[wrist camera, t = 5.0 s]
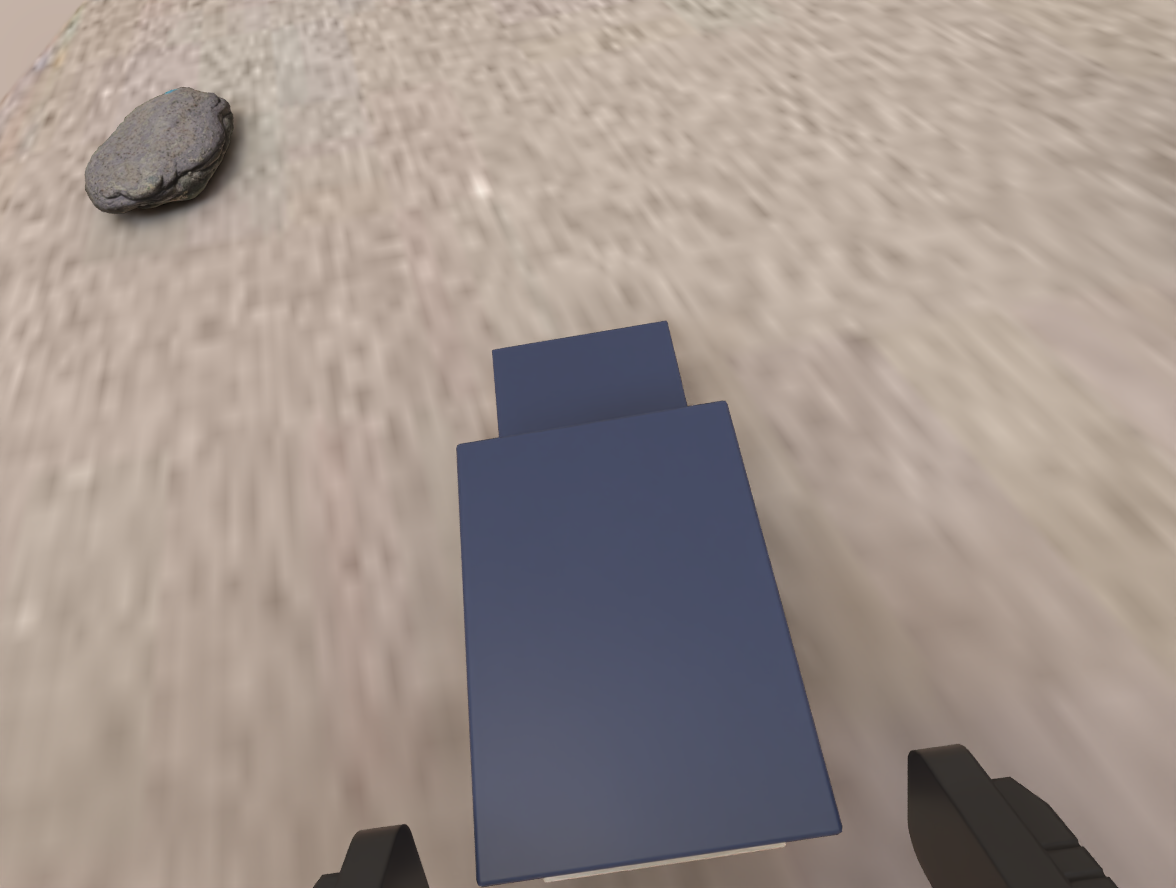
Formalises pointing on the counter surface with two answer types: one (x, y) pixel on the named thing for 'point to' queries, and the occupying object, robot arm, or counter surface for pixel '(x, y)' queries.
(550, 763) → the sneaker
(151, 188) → the stone
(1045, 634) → the counter surface
